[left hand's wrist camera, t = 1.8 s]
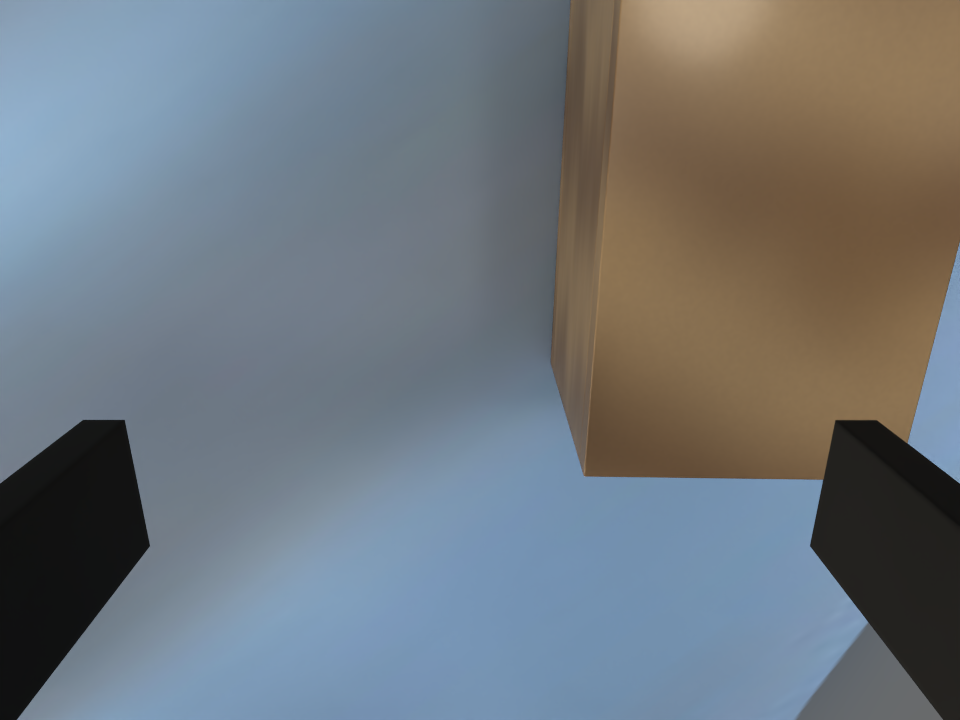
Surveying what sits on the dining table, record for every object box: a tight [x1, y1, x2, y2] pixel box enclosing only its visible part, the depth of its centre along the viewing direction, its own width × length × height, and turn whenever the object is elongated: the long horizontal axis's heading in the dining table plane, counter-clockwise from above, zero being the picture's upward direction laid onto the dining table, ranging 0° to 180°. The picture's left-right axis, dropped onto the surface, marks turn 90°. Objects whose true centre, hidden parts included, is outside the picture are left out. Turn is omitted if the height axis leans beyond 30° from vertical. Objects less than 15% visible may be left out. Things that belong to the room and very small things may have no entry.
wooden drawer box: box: [551, 0, 960, 480], centre depth 26 cm, size 21×11×12 cm, turn 179°
